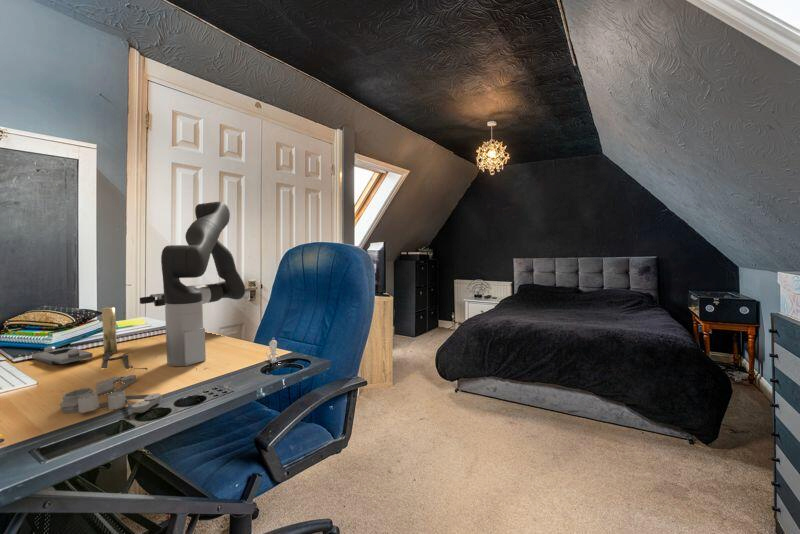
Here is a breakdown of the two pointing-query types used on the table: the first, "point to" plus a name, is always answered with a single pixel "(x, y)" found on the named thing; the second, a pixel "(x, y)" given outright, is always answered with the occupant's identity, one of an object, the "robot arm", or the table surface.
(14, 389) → the table surface
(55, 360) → the grey base plate
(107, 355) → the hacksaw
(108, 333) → the pin
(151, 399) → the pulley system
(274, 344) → the toy figurine
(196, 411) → the table surface
